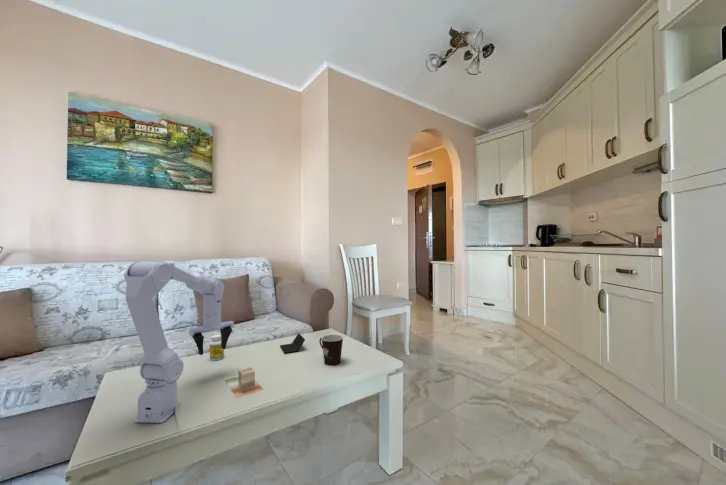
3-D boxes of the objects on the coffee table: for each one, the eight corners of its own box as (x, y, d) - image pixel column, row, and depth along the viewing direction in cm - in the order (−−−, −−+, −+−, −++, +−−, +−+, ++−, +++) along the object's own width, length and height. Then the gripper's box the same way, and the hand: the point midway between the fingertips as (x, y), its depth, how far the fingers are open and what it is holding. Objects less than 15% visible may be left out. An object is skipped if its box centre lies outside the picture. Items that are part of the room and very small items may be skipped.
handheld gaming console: (275, 344, 140) (289, 326, 142) (286, 350, 144) (299, 332, 146) (284, 355, 130) (298, 335, 133) (296, 362, 134) (309, 342, 137)
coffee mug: (345, 364, 120) (345, 339, 120) (324, 368, 117) (324, 342, 117) (337, 354, 131) (337, 331, 131) (317, 357, 128) (317, 334, 128)
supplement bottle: (222, 355, 131) (222, 333, 131) (224, 359, 127) (224, 336, 127) (209, 357, 128) (208, 335, 128) (210, 362, 124) (210, 338, 124)
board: (266, 393, 98) (266, 389, 98) (234, 403, 91) (234, 399, 91) (249, 374, 112) (249, 371, 112) (220, 382, 106) (220, 378, 106)
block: (254, 389, 98) (254, 370, 98) (242, 393, 95) (242, 374, 95) (250, 384, 101) (250, 366, 101) (238, 388, 98) (238, 370, 98)
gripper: (193, 318, 99) (194, 359, 99) (237, 311, 110) (237, 348, 110) (186, 315, 104) (187, 354, 104) (229, 308, 114) (229, 344, 114)
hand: (212, 351), depth 107 cm, fingers open, 7 cm apart
